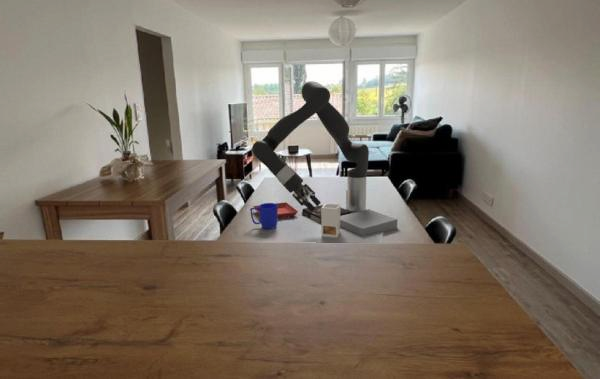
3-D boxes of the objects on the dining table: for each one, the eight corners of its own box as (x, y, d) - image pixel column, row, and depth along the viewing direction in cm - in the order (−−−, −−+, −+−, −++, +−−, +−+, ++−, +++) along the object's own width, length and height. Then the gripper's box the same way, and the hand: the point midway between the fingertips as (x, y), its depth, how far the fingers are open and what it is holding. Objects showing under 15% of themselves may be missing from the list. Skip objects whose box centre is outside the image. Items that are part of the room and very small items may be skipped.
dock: (334, 225, 166) (334, 217, 165) (368, 217, 176) (368, 209, 175) (362, 238, 151) (362, 228, 150) (397, 228, 162) (397, 219, 161)
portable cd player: (301, 216, 181) (301, 209, 180) (331, 211, 189) (331, 203, 188) (320, 226, 167) (319, 218, 166) (350, 219, 175) (350, 211, 174)
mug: (251, 224, 170) (250, 203, 167) (278, 223, 171) (277, 202, 168) (250, 231, 162) (249, 209, 159) (278, 229, 163) (277, 207, 160)
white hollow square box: (321, 238, 152) (321, 207, 149) (325, 233, 158) (325, 203, 155) (337, 239, 150) (337, 208, 147) (340, 234, 156) (340, 204, 153)
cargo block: (325, 235, 152) (325, 226, 151) (327, 232, 156) (327, 222, 155) (334, 236, 151) (334, 226, 150) (336, 232, 155) (336, 223, 154)
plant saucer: (286, 207, 196) (286, 201, 195) (298, 217, 179) (298, 211, 179) (252, 212, 190) (252, 205, 189) (262, 222, 173) (262, 216, 172)
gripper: (289, 176, 145) (318, 206, 145) (300, 169, 158) (326, 197, 158) (277, 188, 148) (305, 218, 148) (289, 180, 161) (315, 208, 161)
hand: (316, 207), depth 153 cm, fingers open, 8 cm apart
